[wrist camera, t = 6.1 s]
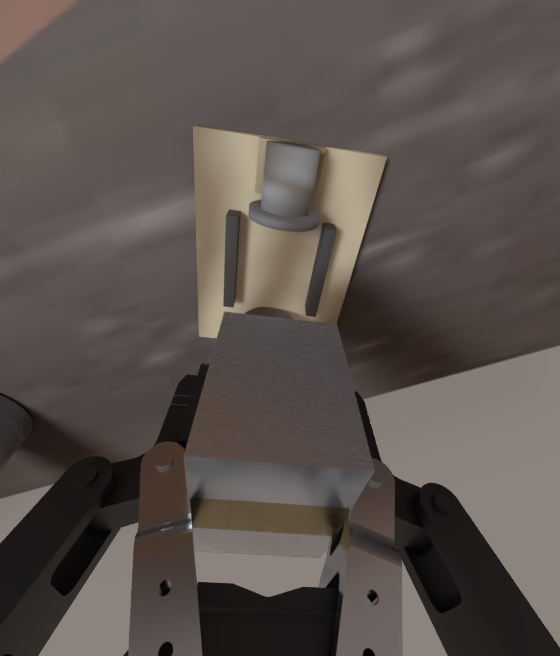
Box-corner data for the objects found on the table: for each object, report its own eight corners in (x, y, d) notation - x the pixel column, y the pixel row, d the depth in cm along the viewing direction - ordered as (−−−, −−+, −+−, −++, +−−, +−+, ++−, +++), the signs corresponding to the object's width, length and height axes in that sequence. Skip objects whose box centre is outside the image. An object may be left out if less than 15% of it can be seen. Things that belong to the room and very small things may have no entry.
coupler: (222, 311, 12) (181, 455, 7) (338, 324, 12) (376, 470, 7) (220, 409, 15) (191, 551, 10) (309, 417, 16) (322, 558, 11)
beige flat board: (201, 328, 28) (186, 371, 24) (197, 124, 19) (170, 130, 14) (326, 342, 29) (335, 386, 25) (382, 154, 20) (412, 168, 15)
